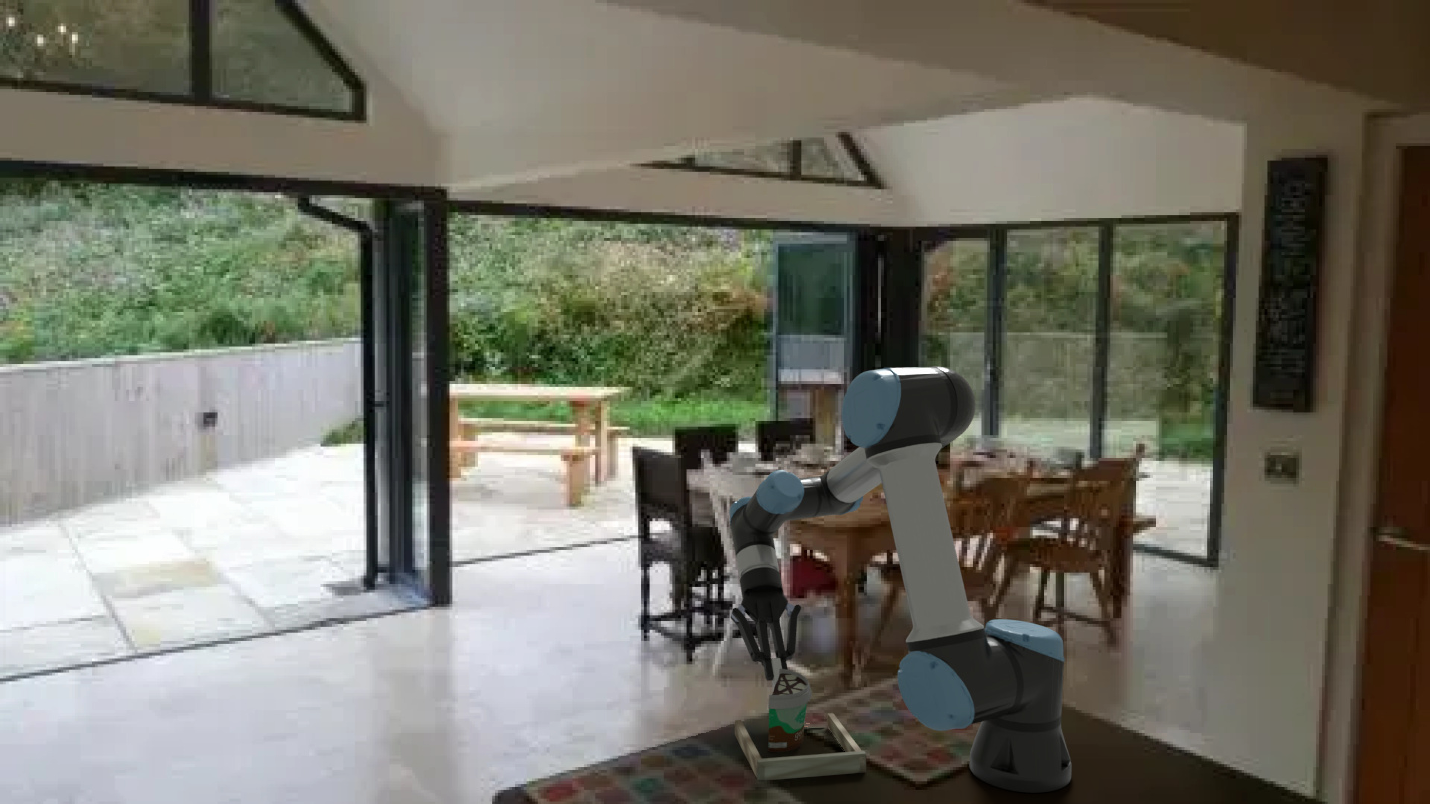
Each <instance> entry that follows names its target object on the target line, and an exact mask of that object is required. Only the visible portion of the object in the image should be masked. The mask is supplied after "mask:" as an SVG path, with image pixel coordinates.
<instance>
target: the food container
mask: <svg viewBox="0 0 1430 804" xmlns="http://www.w3.org/2000/svg"><path fill="white" fill-rule="evenodd" d="M809 682H810V681H809V679H807V678H806V676H804V675H803V674H801V673H799V672H796V671H794V670H789V669H788V670H786V669H779V678H778V681H777V682H776V684H775V687H774V691H773V690H772V691H773V692H772V694H769V695H768V704H767V705H768V707H767V708H768V740H767V741H768V744H767V748H768V749H767V751H768V752H769V753H785V752H790V751H794V750H796V749H798V748H800V747H801V746H802V745H803V742H804V741H803V740H804V732H805V730H804V725H805V718H806V714H807V706H808V702H810V700H811V698H812V696H813V695H812V689H811V684H810V683H809Z"/></svg>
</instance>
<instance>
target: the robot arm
mask: <svg viewBox="0 0 1430 804" xmlns="http://www.w3.org/2000/svg"><path fill="white" fill-rule="evenodd" d="M842 401H843V402H842V405H841V423H842V427H843V430H844V434H845V436H846V437H847V439H849V440H850V442H851V443H852V445H855V446H857V448H856V449H855V450H854V451H852V452H851V453H849V454H848V455H847V456H846V457H845V458H843V459H842V460H841V461H840V462H838V463H837V464H836V465H833V467H832V468H831V469H829V470H827V471H826V472H825V473H823V474H822V475H817V476H808V477H802V478H801V477H798V476H797V475H796V474H794V473H793V472H792V471H791V472H788V471H786V470H784V469H778V470H777V469H776V470H775V471H774V470H773V471H772V472H770V473H769V475H767V477H766V478H764V480H762V482H760V484H759V485H758V487H757V489H756V491H755V492H754V493H753V495H752V496H744V497H741V498H739V499H738V500H736V501H734V502H733V503H732V504H731V505H730V507H729V512H728V513H729V528H730V530H731V531H730V532H731V537H732V542H733V549H734V553H735V559H736V565H737V573H738V578H739V586H740V591H741V597H742V599H741V600H742V601H741V603H740V605H739V606H738V607H734V608H733V609H732V610H731V613H730V620H731V621H732V622H733V623H734V624H735V625H736V626H737V628H738V631H739V632H740V636H741V637H742V639H743V643H744V644H745V645H744V646H746V649H747V651H748V654H749V656H750V660H751V661H752V662H753V663H756V662H760V663H761V665H762V667H763V671H764V676H765V680H766V681H767V682H770V681H771V684H772V689H773V690H772V691H774V687H775V684H776V682H777V681H778V678H779V669H786V670H789V669H788V665H787V663H788V662H787V661H789V660H790V661H791V660H792V659H793V658H794V656H795V653H796V644H797V630H798V629H797V627H798V618H799V615H800V612H801V610H802V606H801V604H795V605H794V604H792V603H790V602H789V600H788V598H787V597H786V596H785V593H784V590H783V583H782V577H781V574H780V566H779V562H778V561H779V560H778V556H777V550H776V547H775V540H774V536H775V534H776V533H777V531H779V530H780V528H781V527H782V526H783V525H784V523H785V522H789V521H796V520H803V519H804V520H805V519H811V518H820V517H827V516H837V515H838V516H841V515H845V514H847V513H848V514H849V513H854V512H855V511H857V510H858V509H859V508H860V506H861V503H862V502H863V501H864V496H865V495H867V494H868V493H869V492H870V491H872V490H873V489H875V488H876V487H878V486H880V485H882V490H883V494H884V499H885V504H886V508H887V512H888V517H889V520H890V521H889V522H890V527H891V530H892V535H893V536H892V537H893V540H894V545H895V549H896V553H897V554H896V555H897V559H898V563H899V566H900V572H901V576H902V577H901V578H902V581H903V585H904V586H903V587H904V589H905V594H906V598H907V604H908V609H909V612H910V618H911V622H912V629H911V631H910V632H909V634H908V636H907V637H906V639H905V643H906V647H907V652H908V653H907V654H906V655H905V656H904V657H903V658H902V659H901V661H900V662H899V665H898V666H899V669H898V670H897V684H898V689H899V692H900V696H901V698H902V701H903V703H904V704H905V706H906V707H907V709H908V711H909V712H910V713H911V714H912V716H913V717H914V718H916V719H917V720H918V722H919V723H920V724H922V725H924V726H925V728H929V729H931V730H933V731H939V732H946V731H950V730H951V731H952V730H958V729H963V730H964V729H966V728H968V726H971V725H975V724H978V723H980V725H979V727H978V730H977V731H976V732H977V733H976V735H975V737H974V739H973V743H972V746H971V748H970V751H969V769H970V771H971V772H972V774H973V775H974V776H975V777H976V778H978V779H979V780H980V781H982V782H984V783H987V784H989V785H991V786H994V787H996V788H1000V789H1003V790H1007V791H1012V792H1019V793H1033V794H1034V793H1035V794H1036V793H1037V794H1039V793H1048V792H1054V791H1057V790H1061V789H1063V788H1064V787H1066V786H1067V785H1068V784H1069V783H1070V782H1071V779H1072V762H1071V761H1072V760H1071V757H1070V753H1069V750H1068V748H1067V747H1068V746H1067V744H1066V741H1065V737H1064V734H1063V730H1062V707H1063V705H1062V704H1063V687H1064V686H1063V685H1064V668H1065V667H1064V664H1065V662H1066V661H1065V660H1066V659H1065V657H1064V641H1063V638H1062V636H1061V635H1060V634H1059V633H1058V632H1057V631H1055V630H1053V629H1052V628H1049V627H1046V626H1043V625H1041V624H1040V625H1039V624H1036V623H1032V622H1029V621H1023V620H1017V619H1016V620H1015V619H1005V618H1003V619H999V618H997V619H991V620H989V621H987V622H986V624H985V625H983V623H981V622H980V621H978V620H977V619H975V618H973V616H972V615H971V611H970V607H969V603H968V598H967V595H966V594H967V593H966V589H965V584H964V581H963V577H962V572H961V568H960V563H959V559H958V555H957V551H956V545H955V541H954V538H953V537H954V536H953V534H952V529H951V524H950V521H949V515H948V511H947V507H946V502H945V498H944V494H943V490H942V489H943V488H942V485H941V481H940V477H939V473H938V468H937V464H936V458H937V455H938V453H939V452H940V451H941V449H943V448H944V447H946V446H948V445H949V444H950V443H952V442H953V441H955V440H957V439H958V438H959V437H960V436H962V435H963V434H964V433H965V431H966V430H968V428H969V427H970V426H971V424H972V421H973V419H974V417H975V413H976V405H977V404H976V398H975V394H974V391H973V388H972V387H971V386H970V384H969V382H968V381H967V380H966V379H965V378H964V377H963V376H962V375H961V374H960V373H958V372H957V371H955V370H953V369H951V368H947V367H943V366H926V367H925V366H921V367H883V368H879V369H874V370H873V369H872V370H867V371H863V372H862V373H859V374H858V375H857V376H856V377H855V378H854V379H853V380H851V382H850V384H849V385H848V387H847V390H846V393H845V395H844V396H843V400H842ZM785 611H786V615H787V617H788V618H789V619H788V623H787V635H786V638H787V639H786V647H785V644H784V639H783V632H782V628H781V617H782V616H783V614H784V612H785ZM746 615H747V616H748V617H749V618H750V620H752V621H753V622H754V625H755V629H756V632H757V640H758V643H757V641H756V639H755V636H754V633H753V631H752V629H751V627H750V625H749V622H748V619H747V617H746ZM767 624H769V629H770V631H771V637H772V638H771V639H772V642H773V647H774V653H775V658H774V657H773V658H772V651H771V646H770V641H769V636H768V635H769V633H768V628H767ZM785 648H786V649H785Z"/></svg>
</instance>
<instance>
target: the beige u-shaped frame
mask: <svg viewBox="0 0 1430 804" xmlns="http://www.w3.org/2000/svg"><path fill="white" fill-rule="evenodd" d="M826 719H827V721H826V724H827V725H828V727H829V728H830V730H831V731H832V733H833V734H834V735H835V736H836V738H837V739H838V741H839V742H840V744H841V745H842V747H843V749H844V750H843V749H842V750H843V751H842V752H831V753H820V754H805V755H795V756H794V755H793V756H781V757H779V756H778V757H767V758H762V756H761V755H760V753H759V751H758V749H757V748H756V745H755V744H754V742H753V740H752V738H751V736H750V734H749V732H748V730H747V728H746V727H745V725H744V723H743V721H742V720H741V719H736V720H734V735H735V738H736V740H737V741H738V744H739V745H740V748H741V750H742V752H743V754H744V756H745V757H746V759H747V761H748V763H749V766H750V768H751V769H752V771H753V773H754V775H755V777H756V779H757V781H758V780H764V781H773V780H775V781H776V780H785V779H797V778H810V777H811V778H812V777H823V776H836V775H847V774H850V775H851V774H858V773H859V774H861V773H866V772H867V753H866V751H865V750H861V748H860V746H859V745H858V744H857V743H856V742H855V740H854V738H852V736H851V734H850V733H849V732H848V731H847V729H846V728H845V727H844V725H842V723H841V722H840V720H839V719H838V717H837V716H836V715H835V713H833V712H831V713H827V717H826ZM844 751H845V752H844Z"/></svg>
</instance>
